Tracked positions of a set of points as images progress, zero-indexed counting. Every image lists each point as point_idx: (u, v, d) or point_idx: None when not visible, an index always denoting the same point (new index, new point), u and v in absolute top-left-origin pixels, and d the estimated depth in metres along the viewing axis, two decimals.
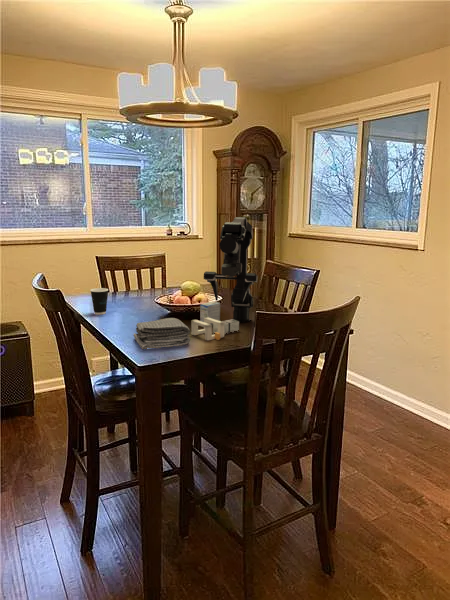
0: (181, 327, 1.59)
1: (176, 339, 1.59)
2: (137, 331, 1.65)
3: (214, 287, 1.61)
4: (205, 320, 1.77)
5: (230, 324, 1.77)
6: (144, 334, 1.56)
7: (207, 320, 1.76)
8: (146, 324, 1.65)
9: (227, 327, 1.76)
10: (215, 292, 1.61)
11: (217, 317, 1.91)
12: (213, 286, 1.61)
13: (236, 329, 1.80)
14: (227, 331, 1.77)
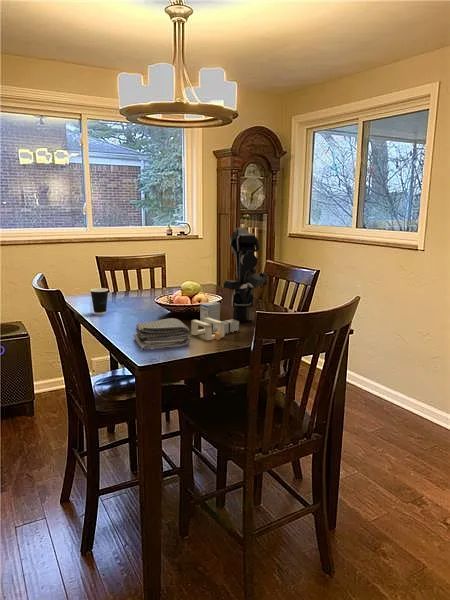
0: (181, 327, 1.59)
1: (176, 339, 1.59)
2: (137, 331, 1.65)
3: (246, 293, 1.81)
4: (205, 320, 1.77)
5: (230, 324, 1.77)
6: (144, 334, 1.56)
7: (207, 320, 1.76)
8: (146, 324, 1.65)
9: (227, 327, 1.76)
10: (246, 297, 1.82)
11: (217, 317, 1.91)
12: (245, 293, 1.80)
13: (236, 329, 1.80)
14: (227, 331, 1.77)
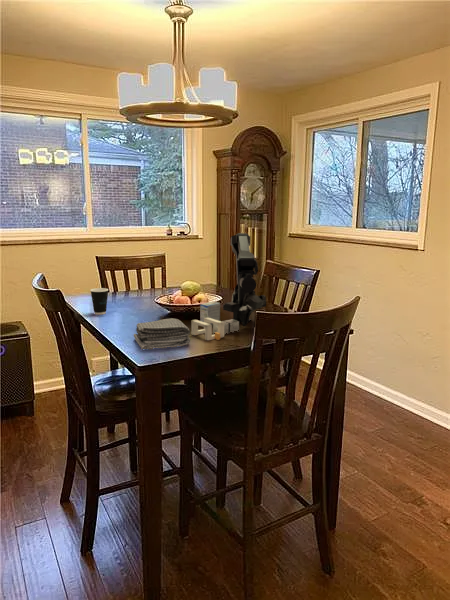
0: (181, 328, 1.59)
1: (176, 340, 1.59)
2: (137, 331, 1.65)
3: (245, 315, 1.82)
4: (205, 320, 1.77)
5: (230, 324, 1.77)
6: (144, 334, 1.55)
7: (207, 320, 1.76)
8: (146, 324, 1.65)
9: (227, 327, 1.76)
10: (245, 319, 1.83)
11: (217, 317, 1.91)
12: (244, 314, 1.82)
13: (236, 329, 1.80)
14: (227, 331, 1.77)
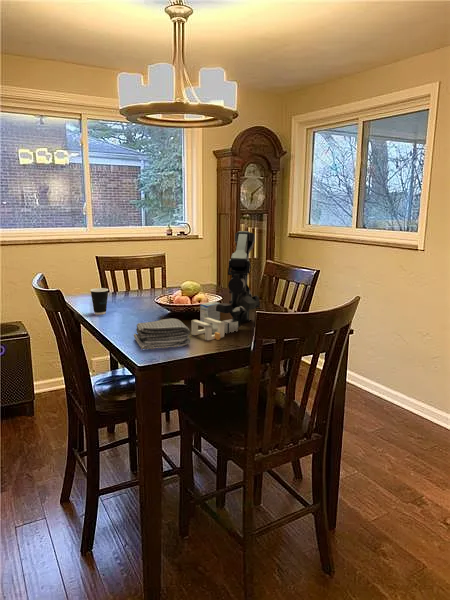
0: (181, 328, 1.59)
1: (176, 340, 1.59)
2: (137, 331, 1.65)
3: (238, 316, 1.80)
4: (205, 320, 1.77)
5: (229, 324, 1.77)
6: (144, 335, 1.55)
7: (207, 320, 1.76)
8: (146, 324, 1.65)
9: (226, 327, 1.76)
10: (238, 320, 1.81)
11: (217, 317, 1.91)
12: (238, 315, 1.80)
13: (235, 329, 1.79)
14: (226, 331, 1.76)
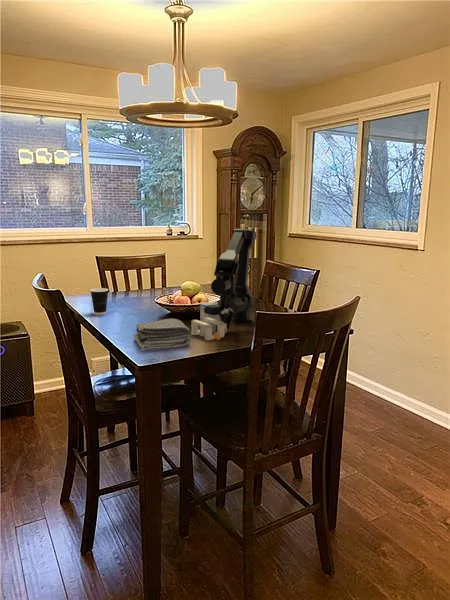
0: (181, 328, 1.58)
1: (176, 340, 1.59)
2: (137, 332, 1.65)
3: (227, 318, 1.76)
4: (205, 320, 1.77)
5: (217, 326, 1.73)
6: (144, 335, 1.55)
7: (207, 320, 1.76)
8: (146, 325, 1.65)
9: (214, 329, 1.73)
10: (227, 322, 1.77)
11: (217, 317, 1.91)
12: (226, 317, 1.76)
13: (224, 331, 1.76)
14: (214, 333, 1.73)
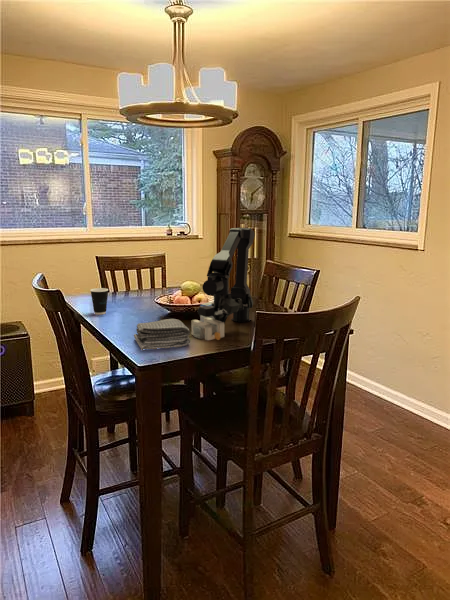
0: (181, 328, 1.58)
1: (176, 340, 1.58)
2: (137, 332, 1.65)
3: (221, 319, 1.75)
4: (205, 320, 1.77)
5: None
6: (143, 335, 1.55)
7: (207, 320, 1.76)
8: (146, 325, 1.65)
9: None
10: None
11: None
12: (220, 319, 1.74)
13: None
14: None
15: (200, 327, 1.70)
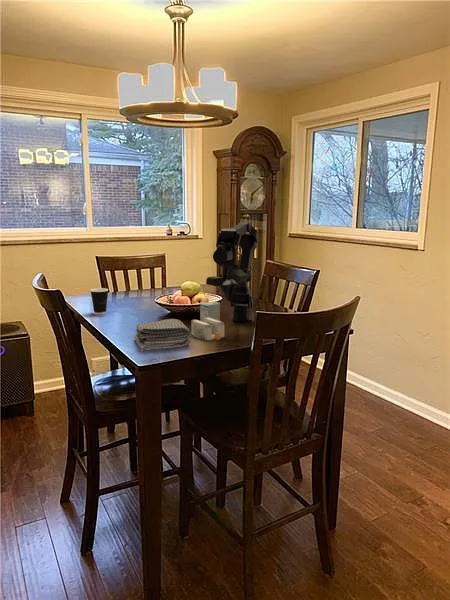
0: (181, 328, 1.58)
1: (176, 340, 1.58)
2: (137, 332, 1.64)
3: (229, 290, 1.77)
4: (205, 320, 1.77)
5: None
6: (143, 335, 1.55)
7: (207, 320, 1.76)
8: (146, 325, 1.64)
9: None
10: (229, 294, 1.78)
11: (217, 317, 1.91)
12: (228, 289, 1.76)
13: None
14: None
15: (200, 327, 1.70)
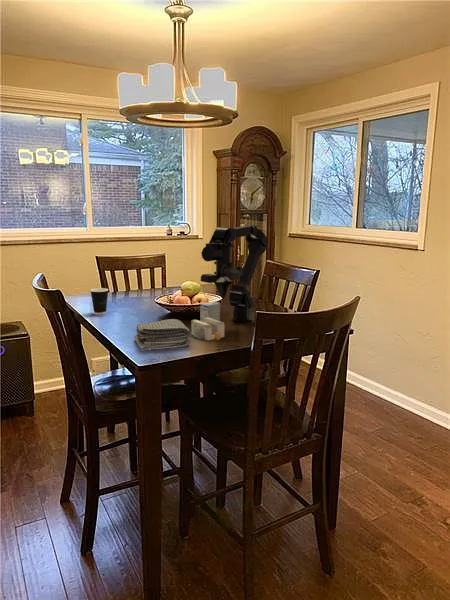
0: (181, 329, 1.58)
1: (176, 341, 1.58)
2: (137, 332, 1.64)
3: (223, 287, 1.82)
4: (205, 320, 1.77)
5: None
6: (143, 335, 1.55)
7: (207, 320, 1.76)
8: (146, 325, 1.64)
9: None
10: (223, 291, 1.83)
11: (217, 317, 1.91)
12: (222, 286, 1.81)
13: None
14: None
15: (200, 327, 1.70)
